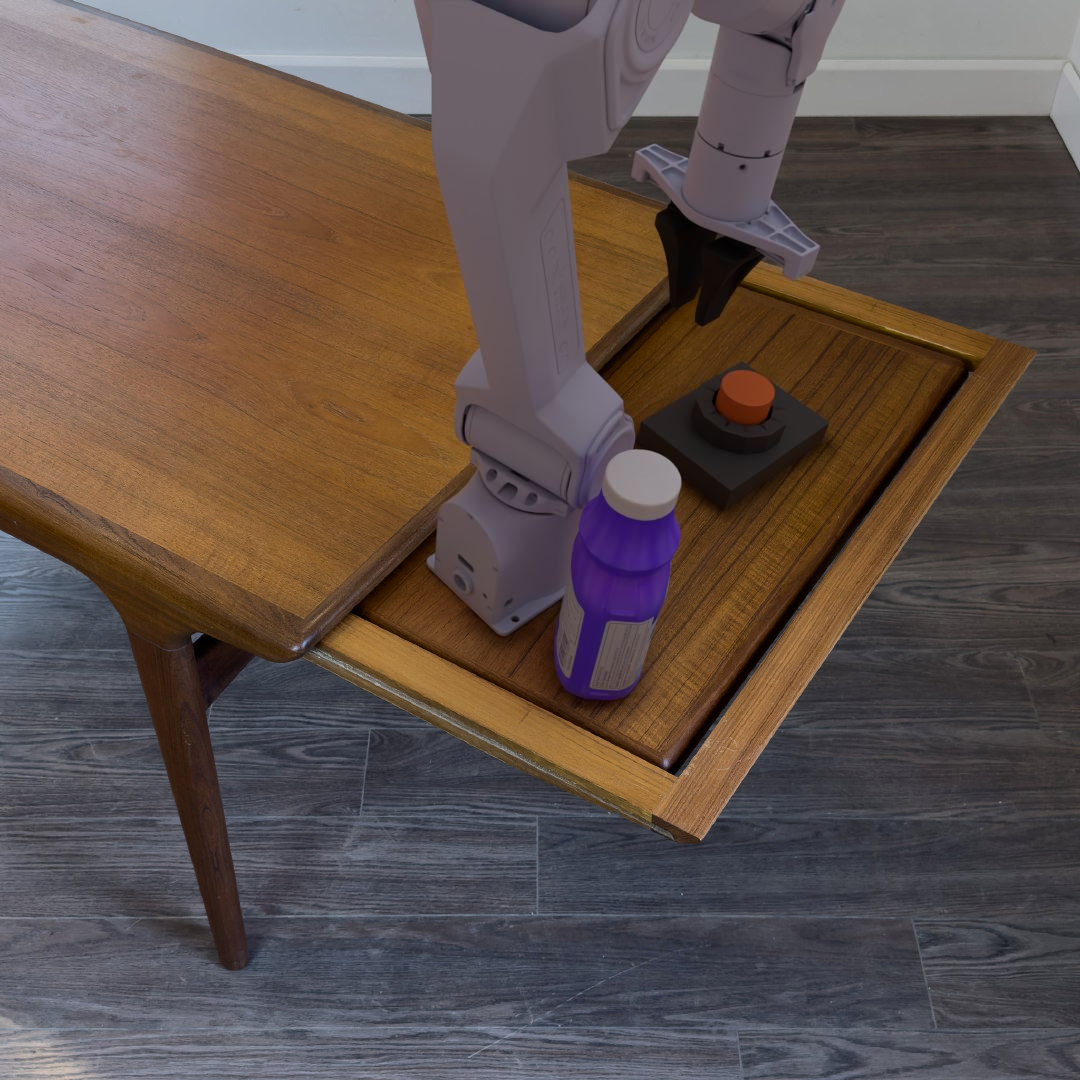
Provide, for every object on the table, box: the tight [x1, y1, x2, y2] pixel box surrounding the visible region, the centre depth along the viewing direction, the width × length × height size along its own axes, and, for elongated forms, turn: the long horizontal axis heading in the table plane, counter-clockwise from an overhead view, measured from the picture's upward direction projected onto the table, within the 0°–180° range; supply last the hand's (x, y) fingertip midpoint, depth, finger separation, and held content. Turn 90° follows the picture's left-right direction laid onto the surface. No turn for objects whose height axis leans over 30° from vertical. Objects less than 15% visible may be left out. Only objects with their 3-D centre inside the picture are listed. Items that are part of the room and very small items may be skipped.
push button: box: [716, 370, 775, 426], centre depth 82 cm, size 4×4×2 cm
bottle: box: [553, 448, 682, 701], centre depth 64 cm, size 7×6×17 cm
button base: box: [635, 360, 830, 511], centre depth 84 cm, size 12×9×4 cm
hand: (694, 310), depth 79 cm, fingers closed
